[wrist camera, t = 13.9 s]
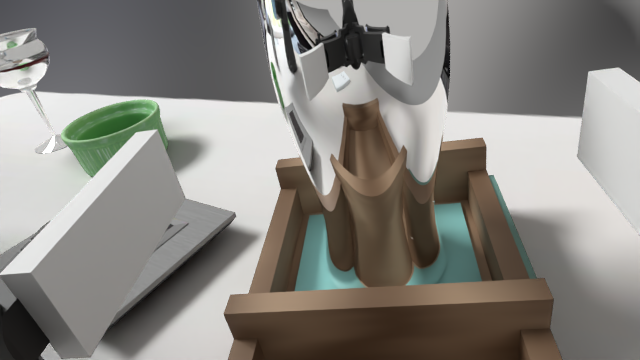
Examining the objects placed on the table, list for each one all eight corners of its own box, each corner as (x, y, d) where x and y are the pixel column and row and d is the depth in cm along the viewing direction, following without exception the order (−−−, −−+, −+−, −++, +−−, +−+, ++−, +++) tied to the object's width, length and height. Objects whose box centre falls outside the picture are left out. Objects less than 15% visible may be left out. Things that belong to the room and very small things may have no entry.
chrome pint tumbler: (300, 304, 22) (203, -33, 14) (339, 216, 27) (285, -62, 19) (450, 323, 19) (435, -73, 11) (459, 222, 25) (454, -93, 17)
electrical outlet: (243, 236, 31) (233, 208, 29) (113, 357, 24) (93, 327, 23) (130, 200, 38) (118, 177, 37) (4, 285, 31) (-15, 259, 30)
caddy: (155, 812, 11) (57, 783, 8) (295, 223, 30) (278, 159, 28) (736, 912, 9) (848, 915, 6) (486, 208, 28) (488, 137, 25)
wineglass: (25, 144, 53) (-34, 43, 47) (85, 123, 55) (35, 25, 49) (26, 164, 48) (-41, 53, 42) (92, 140, 50) (38, 32, 44)
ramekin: (62, 179, 43) (39, 139, 41) (129, 135, 50) (113, 98, 47) (128, 187, 39) (107, 143, 37) (192, 139, 46) (177, 98, 44)
